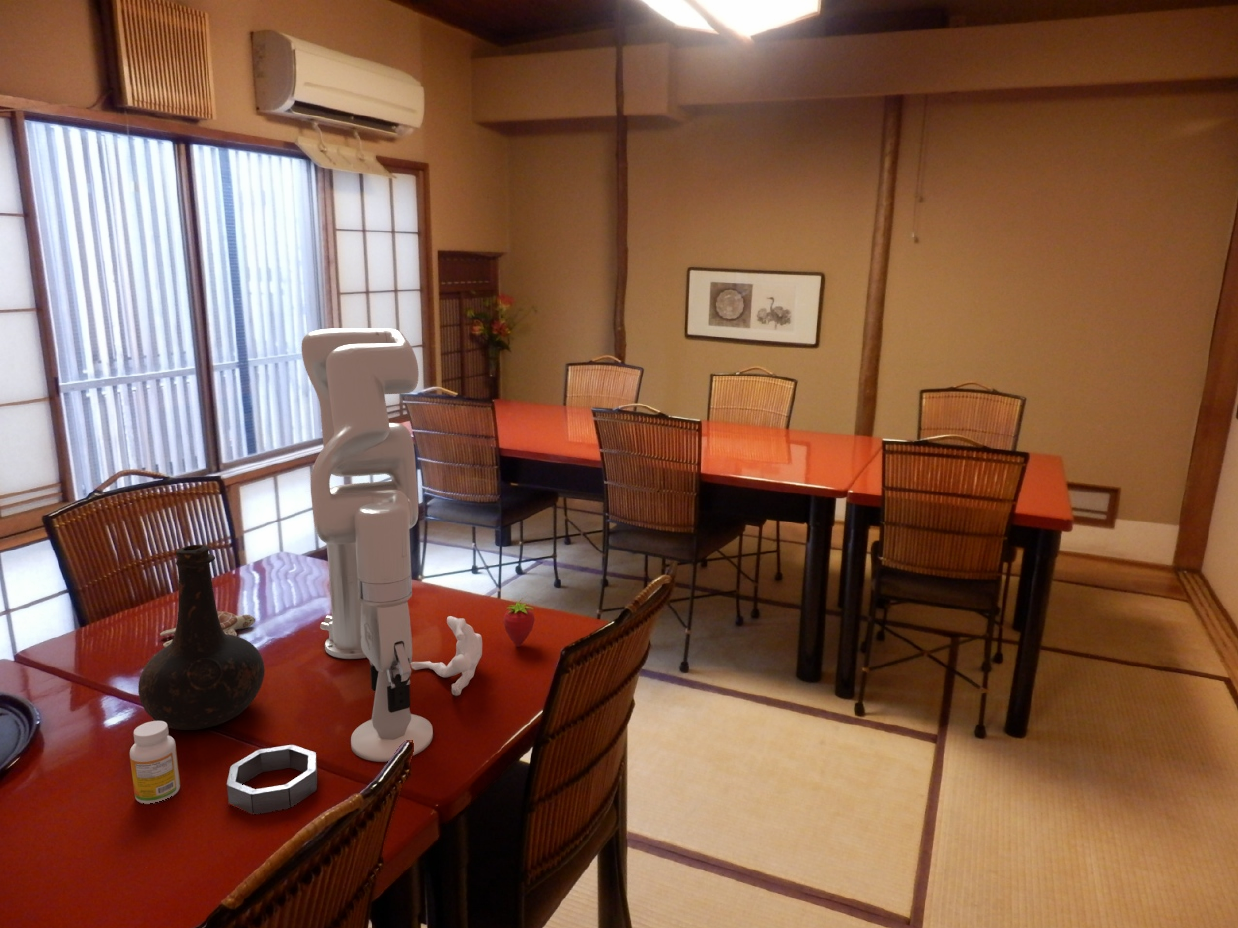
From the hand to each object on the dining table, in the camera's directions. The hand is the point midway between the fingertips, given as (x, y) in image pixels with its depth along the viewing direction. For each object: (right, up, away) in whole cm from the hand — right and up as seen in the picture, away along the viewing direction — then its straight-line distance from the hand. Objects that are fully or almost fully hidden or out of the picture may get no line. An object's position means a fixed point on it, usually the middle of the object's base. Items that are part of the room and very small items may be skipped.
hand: (390, 697), depth 125 cm
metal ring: (-13, -9, -11) cm, 19 cm away
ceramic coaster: (0, -7, +2) cm, 7 cm away
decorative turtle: (-46, +1, +37) cm, 59 cm away
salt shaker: (0, -6, +1) cm, 6 cm away
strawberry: (+15, 0, +35) cm, 38 cm away
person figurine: (+7, -3, +22) cm, 23 cm away
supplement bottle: (-28, -10, -12) cm, 32 cm away
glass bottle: (-31, -5, +8) cm, 33 cm away
